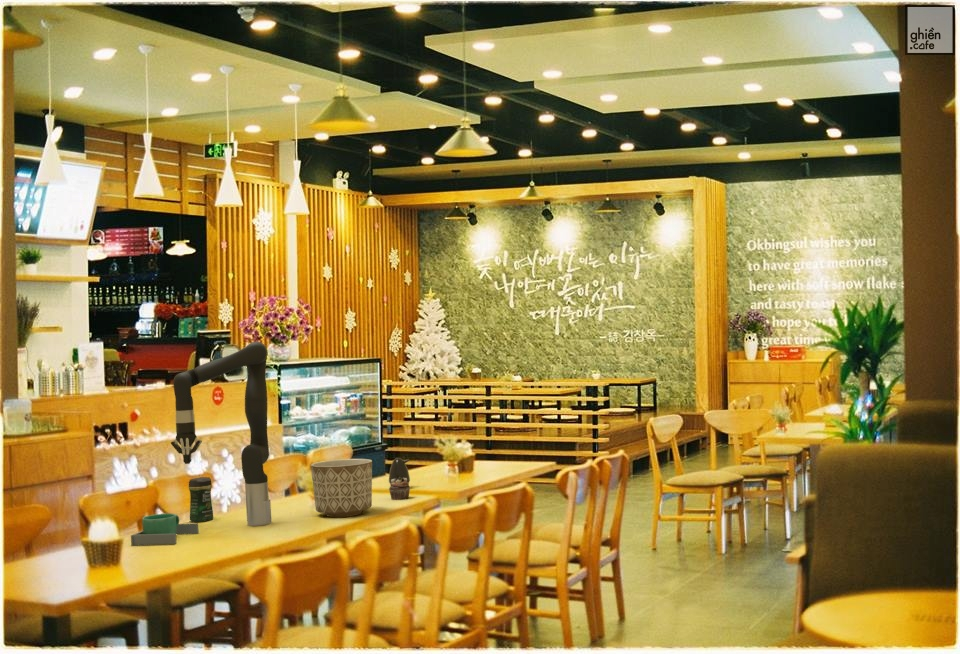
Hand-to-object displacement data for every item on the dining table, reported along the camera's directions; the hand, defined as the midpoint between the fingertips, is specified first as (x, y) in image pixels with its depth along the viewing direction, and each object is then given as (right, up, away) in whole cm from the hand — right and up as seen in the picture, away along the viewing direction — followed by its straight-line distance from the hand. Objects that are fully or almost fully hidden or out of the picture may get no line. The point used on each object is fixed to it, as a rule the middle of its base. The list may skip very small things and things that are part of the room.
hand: (187, 463), depth 470 cm
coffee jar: (+1, -27, +22) cm, 35 cm away
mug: (-4, -28, -21) cm, 35 cm away
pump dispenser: (+81, -23, +89) cm, 122 cm away
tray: (-3, -27, -21) cm, 34 cm away
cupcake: (+83, -23, +56) cm, 103 cm away
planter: (+62, -24, +20) cm, 69 cm away
